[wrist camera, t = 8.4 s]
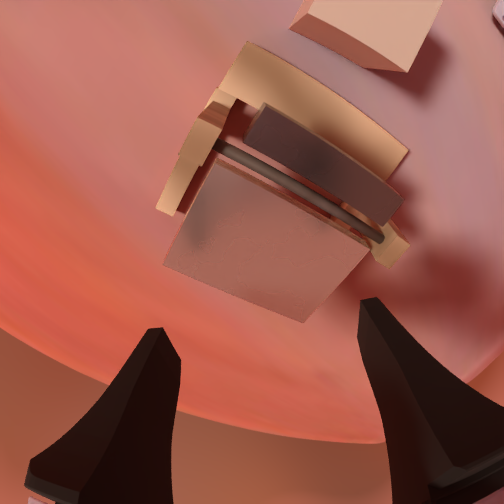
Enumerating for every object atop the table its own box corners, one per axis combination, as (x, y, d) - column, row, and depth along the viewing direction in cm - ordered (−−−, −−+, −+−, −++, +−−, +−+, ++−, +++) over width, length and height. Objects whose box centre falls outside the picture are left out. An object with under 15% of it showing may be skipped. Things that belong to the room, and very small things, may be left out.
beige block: (392, 8, 12) (444, -4, 7) (362, 67, 14) (407, 72, 10) (321, -32, 11) (352, -65, 6) (288, 29, 13) (307, 13, 9)
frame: (245, 41, 13) (244, 26, 8) (403, 147, 17) (460, 187, 12) (158, 202, 19) (127, 261, 14) (306, 272, 22) (322, 340, 17)
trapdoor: (252, 95, 11) (253, 98, 10) (399, 192, 13) (411, 205, 12) (167, 251, 15) (161, 268, 14) (300, 309, 17) (303, 327, 16)
